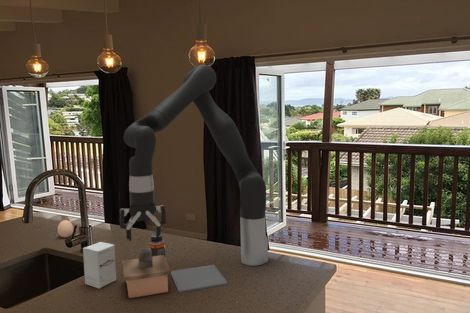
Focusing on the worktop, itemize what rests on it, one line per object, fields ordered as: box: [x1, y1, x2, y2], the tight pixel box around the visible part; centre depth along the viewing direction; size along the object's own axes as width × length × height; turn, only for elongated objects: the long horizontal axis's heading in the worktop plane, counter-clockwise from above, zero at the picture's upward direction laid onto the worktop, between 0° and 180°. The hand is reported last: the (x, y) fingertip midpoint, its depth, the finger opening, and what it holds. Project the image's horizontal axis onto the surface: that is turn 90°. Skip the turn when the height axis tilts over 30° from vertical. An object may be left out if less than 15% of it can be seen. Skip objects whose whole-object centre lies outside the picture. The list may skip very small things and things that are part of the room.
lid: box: [121, 247, 172, 282], centre depth 127 cm, size 14×14×6 cm
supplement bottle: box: [148, 233, 167, 259], centre depth 145 cm, size 6×6×11 cm
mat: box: [170, 264, 228, 294], centre depth 133 cm, size 16×16×1 cm
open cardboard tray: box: [125, 275, 169, 299], centre depth 127 cm, size 12×12×6 cm
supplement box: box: [82, 241, 117, 290], centre depth 131 cm, size 7×7×13 cm
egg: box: [57, 219, 74, 238], centre depth 179 cm, size 7×7×8 cm
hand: (143, 238), depth 126 cm, fingers open, 8 cm apart
